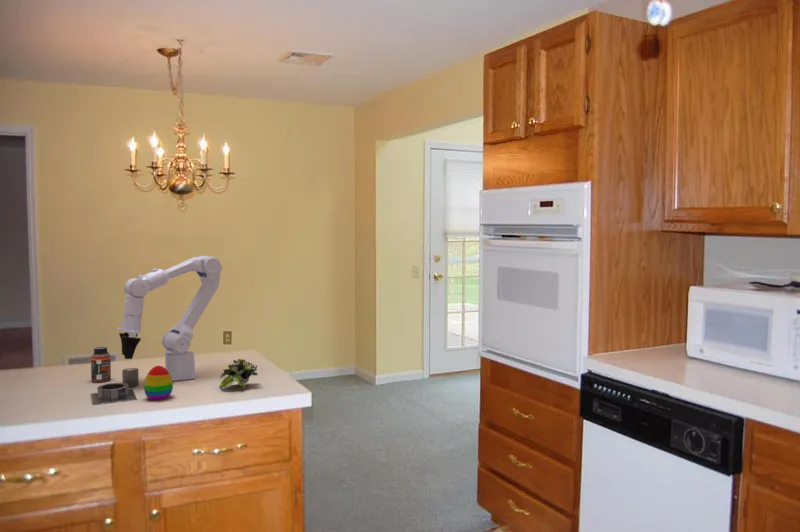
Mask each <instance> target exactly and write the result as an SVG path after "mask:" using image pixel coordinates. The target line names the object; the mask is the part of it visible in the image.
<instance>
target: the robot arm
mask: <svg viewBox="0 0 800 532" xmlns="http://www.w3.org/2000/svg"><path fill="white" fill-rule="evenodd" d="M222 271H223V267H222V264H221V261H220V259H219V258H218V257H216V256H214V255H211V256H207V255H204V254H203V255H197V256H193V257H190V258H189V259H186V260H184V261H182V262H179V263H178V264H175V265H173V266H171V267H169V268H167V269H161V268H156V267H155V268H153V269H151V272H148V273H145V274H138V277H137V278H136V277H133V278H130V279H128V280H127V282H125V285H123V290H124V292H125V298H124V304H123V313H122V320H121V327H117V328H116V330H117V331H121V332H118V334H119V337H120V341H121V342H120V343H121V354H122V355H123V356H124V359H125V360H133V357H134V355H135V351H136V349H137V346H138V344H139V343H140V341H141V340H142V338H141V337H138V333H141V332H142V331H141V330H142V329H141V326H142V320H143V319H142V318H143V311H144V303H145V297H146V296H147V295H148V294H149V292H152V291H153V290H156V289H159V288H161V287H164V286H166V285H167V284H169V283H168V282H169V281H170V279H172V278H176V277H178V276H181V275H183V274H186V273H189V272H195V273H196V274H197V275H198V277H199V279H200V283H201V285H200V287H199V288H198V290H197V291H196V293H195V295H194V296H193V298H192V300H191V301H190V303H189V304H188V306H187V308H186V310H185V311H184V313H183V314H182V316H181V318H180V319H179V321H178V322H177V323H176V324H174V325H173V326H172V327H171V328H170V330H168V331H167V332H166V333H164V334H163V336H162V340H161V344H162V346H163V348H165V350H164V353H165V354H164V358H165V359H164V362H165V363H164V365H165V366H164V368H165V369H167V371H168V372H169V373H170V375H171V378H172V382H175V381H184V380H192V379H196V373H195V372H196V366H195V365H196V364H195V363H196V362H195V354H194V352H193V351H189V349H190V346H191V341H192V339H193V337H194V333H193V330H194V328H195V326H196V325H197V323H198V321H199V320H200V319H201V317H202V315H203V314H204V312H205V310H206V308H207V307H208V305H209V304H210V301H211V300H212V299H213V297H214V296H215V294H216V292H217V290H218V288H219V286H220V280H221V279H220V278H221V273H222ZM123 332H124V333H123Z"/></svg>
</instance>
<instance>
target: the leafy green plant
mask: <svg viewBox="0 0 800 532" xmlns="http://www.w3.org/2000/svg"><path fill="white" fill-rule="evenodd" d="M257 368H258V365H255V364H253V363H252V362H250V361H248V360H247V361H246V359H242V358H237V360H236V359H235V360H234V359H233V362H231V364H230V363H228V364H227V368H223V369H222V371H223V372H221V375H220V376H219V379H222V378H223V377H225V378H223V379H222V381H221V382H220V384H219V386H218V387H219V389H220V390H221V389H222V390H223V388H227V387H229V386H230V385H232V384H233V383H235V382H237V384H238V385H239V386H240V387H243V388H242V391H244V390H245V387H246V385H247V383H248V382H249V379H250V377H251V376H258V375H259V374H258V373H257V370H258V369H257Z"/></svg>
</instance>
